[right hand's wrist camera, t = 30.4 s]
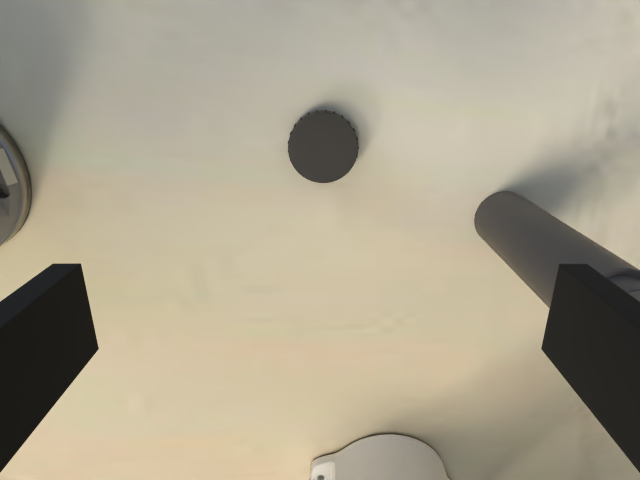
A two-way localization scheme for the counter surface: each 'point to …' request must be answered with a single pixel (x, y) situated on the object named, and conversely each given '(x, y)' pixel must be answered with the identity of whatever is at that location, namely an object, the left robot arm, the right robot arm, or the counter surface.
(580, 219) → the counter surface
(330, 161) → the lid
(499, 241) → the dark gray cylinder
